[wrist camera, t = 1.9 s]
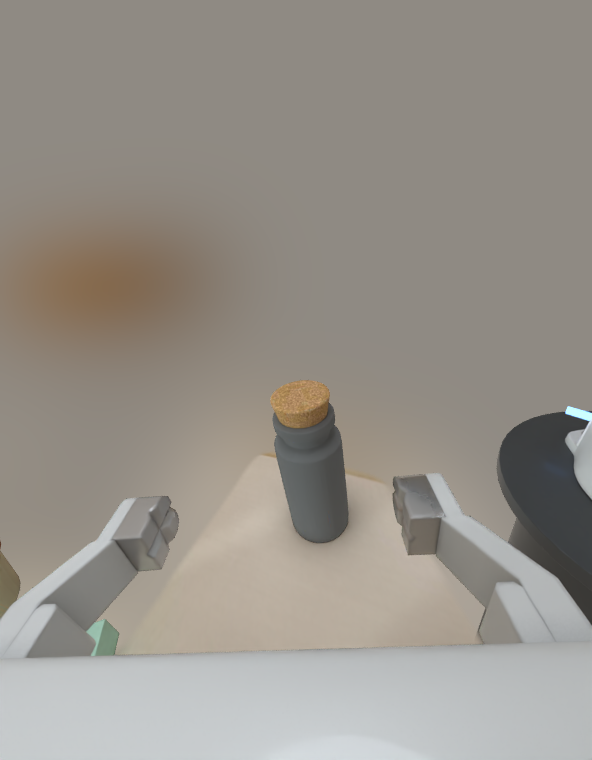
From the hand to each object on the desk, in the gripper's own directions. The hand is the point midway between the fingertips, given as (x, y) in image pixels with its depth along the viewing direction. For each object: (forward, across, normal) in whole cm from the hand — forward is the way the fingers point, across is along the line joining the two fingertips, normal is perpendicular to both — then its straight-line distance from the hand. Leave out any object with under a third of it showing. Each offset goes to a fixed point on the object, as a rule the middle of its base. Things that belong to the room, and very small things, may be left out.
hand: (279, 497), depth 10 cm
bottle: (+12, 0, +18) cm, 22 cm away
